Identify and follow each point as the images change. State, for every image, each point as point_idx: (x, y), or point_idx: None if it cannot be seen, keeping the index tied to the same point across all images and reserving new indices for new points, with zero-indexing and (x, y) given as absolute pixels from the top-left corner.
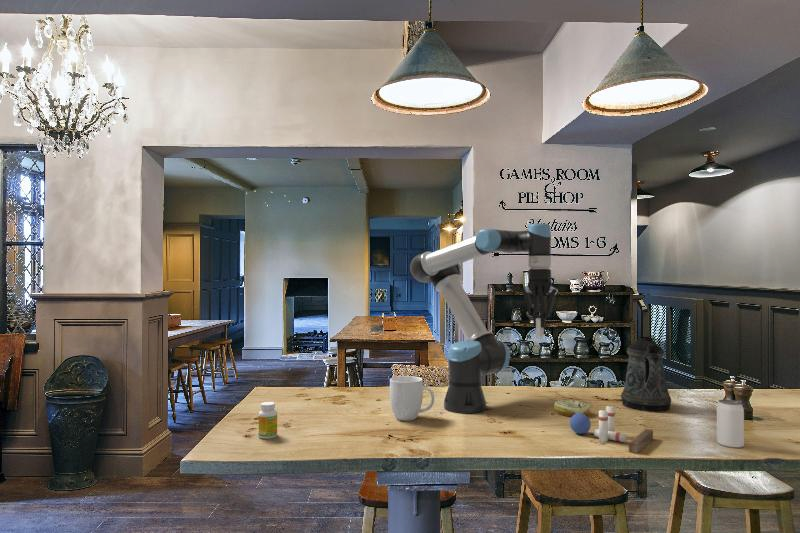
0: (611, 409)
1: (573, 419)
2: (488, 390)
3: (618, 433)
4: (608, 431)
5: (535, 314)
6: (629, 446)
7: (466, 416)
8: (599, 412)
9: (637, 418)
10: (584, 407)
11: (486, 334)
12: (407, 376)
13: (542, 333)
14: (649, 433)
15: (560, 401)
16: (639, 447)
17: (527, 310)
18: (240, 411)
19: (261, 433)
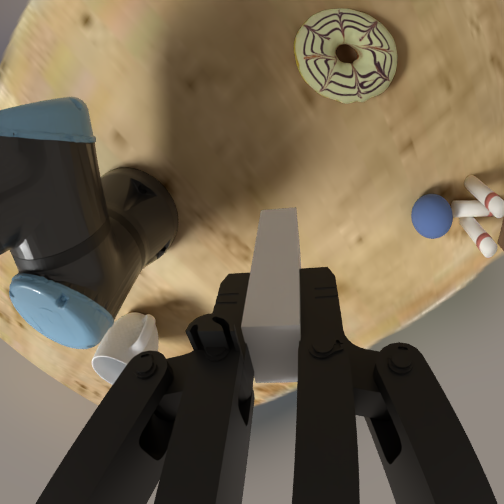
0: (501, 215)
1: (426, 237)
2: (44, 48)
3: (492, 215)
4: (478, 214)
5: (241, 414)
6: (502, 248)
7: (184, 259)
8: (484, 255)
9: (473, 13)
10: (392, 67)
11: None
12: (95, 358)
13: (298, 239)
14: None
15: (319, 67)
16: None
17: (141, 439)
18: (57, 378)
19: None
